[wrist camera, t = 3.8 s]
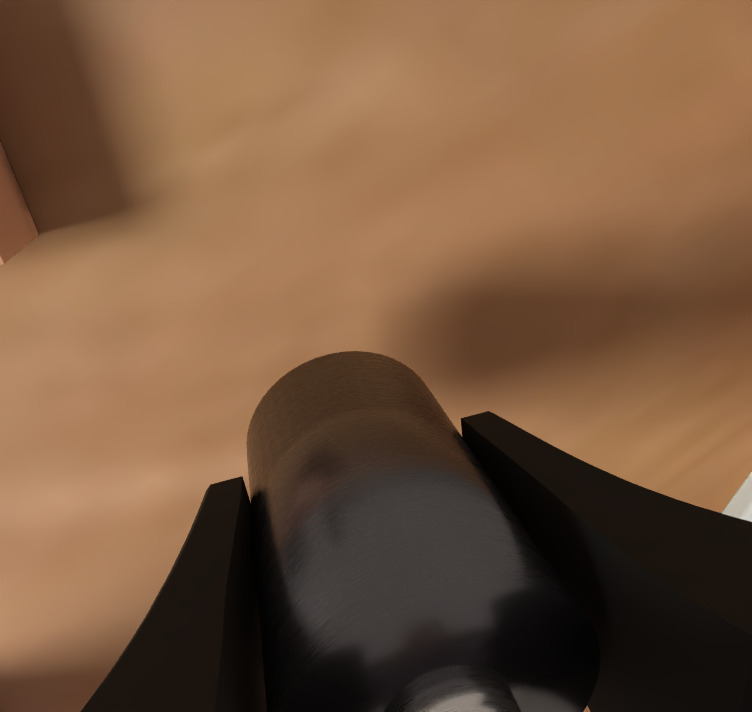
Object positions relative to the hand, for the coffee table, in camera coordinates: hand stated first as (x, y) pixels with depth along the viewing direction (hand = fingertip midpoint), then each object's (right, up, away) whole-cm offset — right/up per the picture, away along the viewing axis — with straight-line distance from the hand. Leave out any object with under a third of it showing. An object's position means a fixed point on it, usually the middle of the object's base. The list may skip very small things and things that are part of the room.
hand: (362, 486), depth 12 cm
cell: (0, +1, +1) cm, 2 cm away
